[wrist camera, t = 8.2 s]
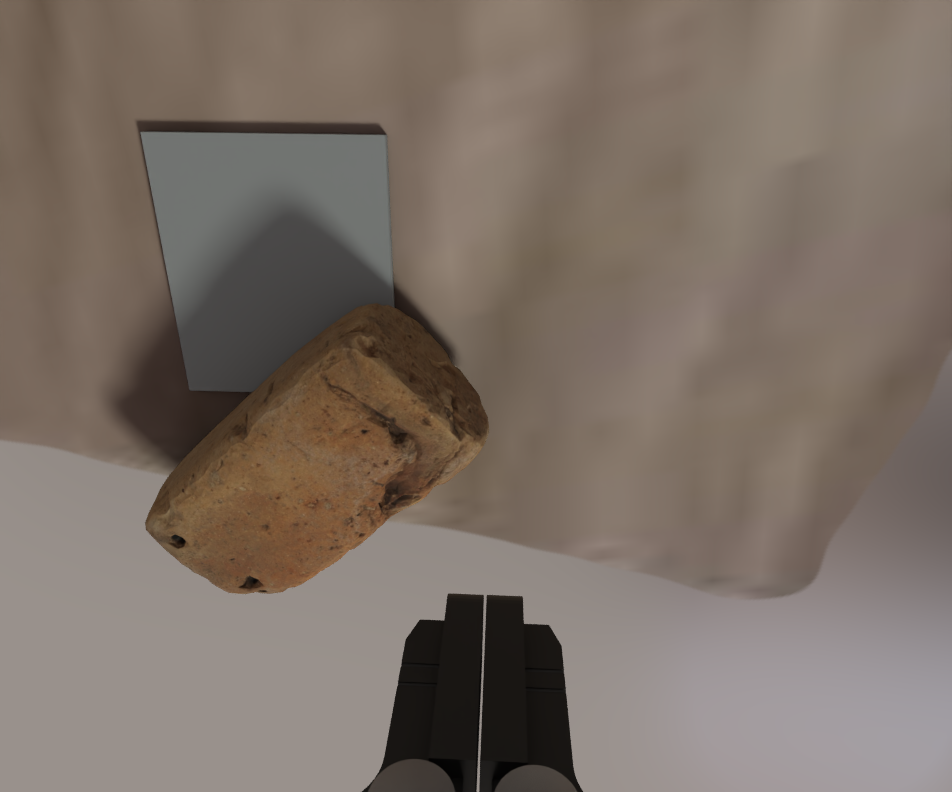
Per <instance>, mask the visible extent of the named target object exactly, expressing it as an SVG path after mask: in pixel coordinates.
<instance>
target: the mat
mask: <svg viewBox="0 0 952 792" xmlns="http://www.w3.org/2000/svg"><path fill="white" fill-rule="evenodd" d="M140 133H141V138H142V144H143V149H144V154H145V159H146V165H147V170H148V175H149V180H150V186H151V191H152V196H153V201H154V207H155V212H156V217H157V222H158V228H159V233H160V238H161V243H162V249H163V254H164V259H165V264H166V270H167V275H168V280H169V285H170V291H171V296H172V301H173V306H174V312H175V317H176V322H177V327H178V333H179V338H180V343H181V349H182V354H183V359H184V364H185V370H186V375H187V380H188V385H189V390H191V391H228V392H253V391H254V390H256V389H257V388H258V387H259V386H260V385H261V384H262V383H263V382H264V381H265V380H266V379H267V378H268V377H269V376H270V375H271V374H272V373H273V372H275V371H276V370H277V369H278V368H279V367H280V366H281V365H282V364H283V363H284V362H285V361H286V360H288V359H289V358H290V357H291V356H292V355H293V354H294V353H296V352H297V351H298V350H299V349H301V348H302V347H303V346H304V345H306V344H307V343H308V342H309V341H311V340H312V339H313V338H315V337H316V336H317V335H318V334H320V333H321V332H322V331H324V330H325V329H326V328H328V327H329V326H330V325H332V324H333V323H335V322H336V321H337V320H339V319H340V318H342V317H343V316H344V315H346V314H347V313H349V312H350V311H352V310H354V309H355V308H357V307H359V306H365V305H367V304H375V303H378V304H380V305H382V306H384V305H390V306H392V307H394V284H393V262H392V239H391V216H390V194H389V171H388V148H387V134H314V133H237V132H160V131H144V132H140ZM394 308H395V307H394Z"/></svg>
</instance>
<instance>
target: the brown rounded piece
mask: <svg viewBox="0 0 952 792" xmlns="http://www.w3.org/2000/svg"><path fill="white" fill-rule="evenodd" d="M488 433H489V424H488V417H487V415H486V413H485V410H484V408H483V406H482V404H481V401H480V397H479V395H478V393H477V392H476V390H475V389H474V388H473V387H472V385H471V384H470V383H469V381H468V380H467V379H466V377H465V376H464V375H463V373H462V372H461V371H460V370H459V369H458V368H456V367H455V366H453V364H452V363H451V361H450V359H449V357H448V355H447V353H446V352H445V350H444V349H443V348H442V346H441V345H440V344H439V343H438V342H436V341H435V340H434V338H433V337H432V336H431V335H430V334H429V333H428V332H427V331H426V330H425V329H424V328H423V327H422V326H421V325H420V324H419V323H418V322H417V321H416V320H414V319H412V318H411V317H409V316H407V315H406V314H404V313H403V312H401V311H400V310H399V309H396V308H394V307H392V306H390V305H384V306H382V305H380V304H378V303H375V304H367V305H365V306H359V307H357V308H355V309H354V310H352V311H350V312H349V313H347V314H346V315H344V316H343V317H342V318H340V319H339V320H337V321H336V322H335V323H333V324H332V325H330V326H329V327H328V328H326V329H325V330H324V331H322V332H321V333H320V334H318V335H317V336H316V337H315V338H313V339H312V340H311V341H309V342H308V343H307V344H306V345H304V346H303V347H302V348H301V349H299V350H298V351H297V352H296V353H294V354H293V355H292V356H291V357H290V358H289V359H288V360H286V361H285V362H284V363H283V364H282V365H281V366H280V367H279V368H278V369H277V370H276V371H275V372H273V373H272V374H271V375H270V376H269V377H268V378H267V379H266V380H265V381H264V382H263V383H262V384H261V385H260V386H259V387H258V388H257V389H256V390H254V391H253V392H252V393H251V394H250V395H249V396H247V397H246V398H245V399H244V400H243V401H242V402H241V403H240V404H239V405H238V406H237V407H236V408H235V409H234V410H233V411H232V412H231V413H230V414H229V415H228V416H226V418H225V419H223V420H222V421H221V422H220V423H219V424H218V425H217V426H216V427H215V428H214V429H213V430H212V431H211V432H210V433H209V434H208V435H207V436H206V437H205V438H204V439H203V440H202V441H201V442H200V443H199V444H198V445H197V446H196V447H195V448H194V449H193V450H192V451H191V452H190V453H189V454H188V455H187V456H186V457H185V458H184V459H183V460H182V461H181V462H180V464H179V465H178V466H177V467H176V468H175V469H174V471H173V472H172V473H171V474H170V475H169V477H168V478H167V480H166V481H165V483H164V484H163V486H162V487H161V489H160V491H159V493H158V495H157V498H156V500H155V502H154V504H153V506H152V508H151V510H150V512H149V514H148V517H147V520H146V522H145V525H146V530H147V531H148V532H149V533H150V534H151V536H152V537H153V538H154V539H155V540H156V541H157V542H158V543H159V544H160V545H161V546H162V547H163V548H164V549H165V550H166V551H168V552H169V553H170V554H171V555H172V556H174V557H175V558H176V559H177V560H178V561H179V562H180V563H181V564H183V565H185V566H186V567H188V568H189V569H191V570H192V571H193V572H194V573H197V574H199V575H201V576H203V577H205V578H207V579H208V580H209V581H210V582H211V583H212V584H214V585H215V586H217V587H219V588H221V589H223V590H224V591H226V592H229V593H238V594H248V593H254V592H259V593H267V594H270V593H278V592H283V591H285V590H286V589H287V588H290V587H296V586H298V585H301V584H302V583H304V582H306V581H307V580H309V579H310V578H312V577H314V576H315V575H316V574H318V573H319V572H320V571H322V570H324V569H325V568H327V567H329V566H330V565H332V564H334V563H335V562H337V561H338V560H339V559H341V558H342V557H343V556H344V555H345V554H346V553H347V552H348V551H349V550H351V549H354V548H356V547H357V546H358V545H360V544H361V543H362V542H363V541H365V540H366V539H367V538H368V537H369V536H370V535H371V534H373V533H374V532H375V531H376V530H377V528H379V527H380V526H382V525H383V524H384V523H385V521H386V520H387V519H388V518H389V517H391V516H393V515H394V514H396V513H398V512H400V511H401V510H403V509H405V508H407V507H409V506H411V505H414V504H416V503H418V502H419V501H421V500H422V499H423V498H424V497H426V496H427V494H428V493H429V492H430V491H431V490H432V488H433V487H435V486H437V485H440V484H444V483H446V482H447V481H449V480H450V479H451V478H452V477H454V476H455V475H456V474H457V473H458V472H460V471H461V470H463V469H464V468H465V467H466V466H467V465H468V464H469V463H470V462H471V461H472V460H473V459H474V458H475V457H476V455H477V454H478V453H479V452H480V450H481V449H482V447H483V446H484V444H485V442H486V439H487V436H488Z"/></svg>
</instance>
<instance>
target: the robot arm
mask: <svg viewBox="0 0 952 792" xmlns="http://www.w3.org/2000/svg"><path fill="white" fill-rule="evenodd" d="M483 603H484V596H483V595H470V594H448V596H447V605H446V613H445V621H440V620H439V621H438V620H419V622H418V623H417V625H416V626H415V627H414V629H413V630H412V632H411V633H410V634H409V636H408V637H407V639H406V641H405V647H404V652H403V658H402V666H401V669H400V674H399V680H398V686H397V691H396V696H395V702H394V707H393V713H392V718H391V724H390V729H389V735H388V740H387V746H386V751H385V757H384V760H383V764H382V767H381V769H380V771H379V773H378V774H377V776H376V777H375V779H374V780H373V781H372V782H371V784H370V785H369V786H368V787H367V788H366V789H364V790H363V791H362V792H476V789H477V766H478V742H479V719H480V696H481V673H482V640H483ZM479 792H583V791H582V789H581V788H580V786H579V784H578V782H577V779H576V777H575V773H574V768H573V760H572V749H571V740H570V728H569V718H568V708H567V698H566V687H565V677H564V667H563V657H562V647H561V644H560V643H559V641H558V640H557V638H556V636H555V634H554V633H553V631H552V629H551V628H550V627H549V625H537V624H524V620H523V597H522V596H499V595H487V605H486V630H485V656H484V680H483V706H482V732H481V756H480V791H479Z"/></svg>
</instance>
